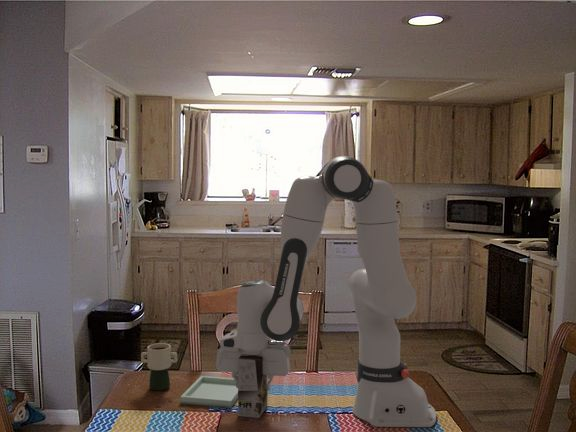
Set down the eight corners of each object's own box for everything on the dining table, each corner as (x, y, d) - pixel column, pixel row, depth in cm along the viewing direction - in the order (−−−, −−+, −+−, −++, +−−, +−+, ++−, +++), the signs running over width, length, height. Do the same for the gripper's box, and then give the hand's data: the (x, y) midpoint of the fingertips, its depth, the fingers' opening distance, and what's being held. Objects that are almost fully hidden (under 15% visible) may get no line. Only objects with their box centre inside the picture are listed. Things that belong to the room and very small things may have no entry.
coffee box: (260, 418, 156) (260, 359, 155) (237, 416, 158) (237, 358, 156) (268, 405, 165) (268, 349, 164) (246, 403, 167) (246, 347, 165)
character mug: (179, 383, 181) (179, 342, 180) (175, 392, 174) (175, 350, 173) (144, 384, 181) (143, 342, 180) (138, 392, 174) (138, 350, 173)
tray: (247, 385, 180) (247, 379, 180) (231, 407, 163) (231, 401, 163) (201, 382, 183) (201, 375, 183) (180, 403, 166) (180, 396, 166)
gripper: (292, 338, 161) (292, 387, 162) (221, 333, 165) (221, 381, 166) (287, 345, 155) (287, 395, 156) (214, 340, 159) (214, 389, 160)
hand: (253, 388), depth 161 cm, fingers closed on coffee box, 6 cm apart
